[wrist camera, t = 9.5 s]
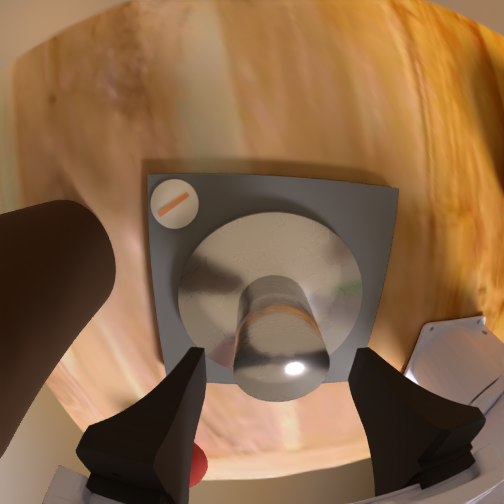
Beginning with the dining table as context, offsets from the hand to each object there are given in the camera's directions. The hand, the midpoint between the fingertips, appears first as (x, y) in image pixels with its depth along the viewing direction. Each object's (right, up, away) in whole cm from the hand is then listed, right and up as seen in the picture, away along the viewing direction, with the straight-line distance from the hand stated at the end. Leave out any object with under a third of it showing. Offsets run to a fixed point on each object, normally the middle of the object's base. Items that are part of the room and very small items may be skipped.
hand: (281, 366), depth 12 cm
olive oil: (-16, +5, +7) cm, 18 cm away
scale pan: (0, +2, +6) cm, 6 cm away
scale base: (0, +3, +7) cm, 8 cm away
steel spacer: (0, +2, +5) cm, 6 cm away
